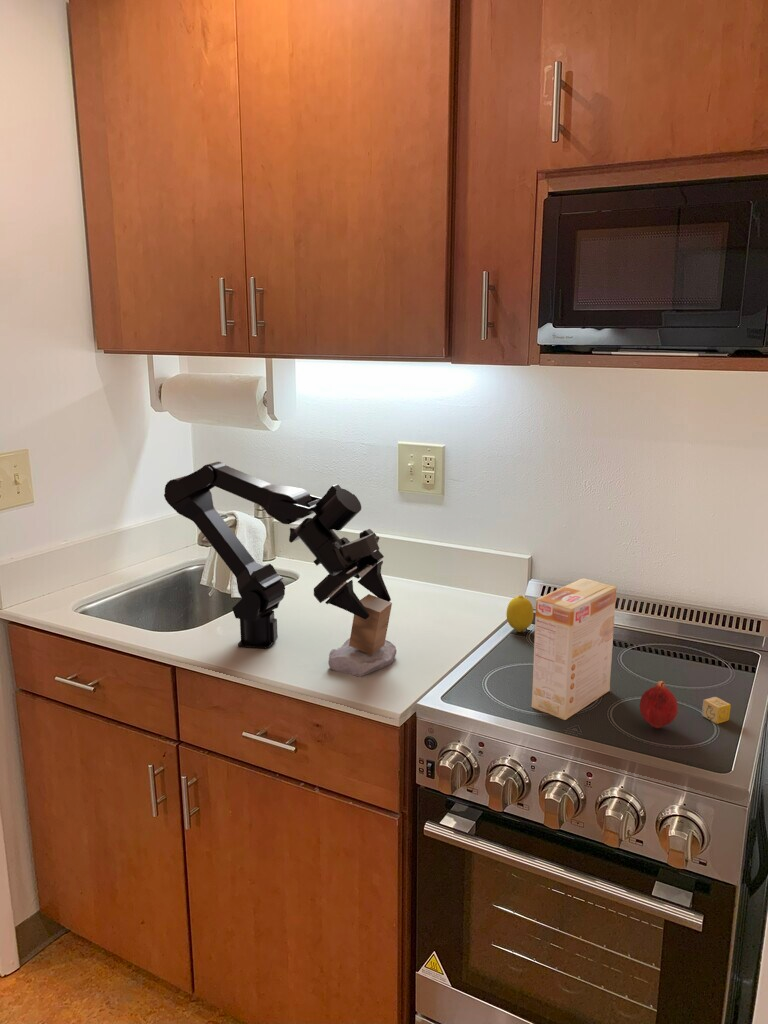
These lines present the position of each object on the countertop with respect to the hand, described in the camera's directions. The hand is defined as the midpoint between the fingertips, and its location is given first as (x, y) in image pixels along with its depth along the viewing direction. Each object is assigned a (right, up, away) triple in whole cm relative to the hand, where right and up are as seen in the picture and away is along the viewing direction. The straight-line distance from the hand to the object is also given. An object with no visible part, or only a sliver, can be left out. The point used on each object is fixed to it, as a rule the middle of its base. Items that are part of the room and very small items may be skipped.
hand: (378, 609), depth 150 cm
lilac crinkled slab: (-3, -11, +4) cm, 12 cm away
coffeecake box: (+33, -14, -10) cm, 38 cm away
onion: (+45, -17, -20) cm, 52 cm away
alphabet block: (+55, -16, -17) cm, 60 cm away
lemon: (+29, -7, +19) cm, 36 cm away
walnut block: (-2, -7, +3) cm, 8 cm away
